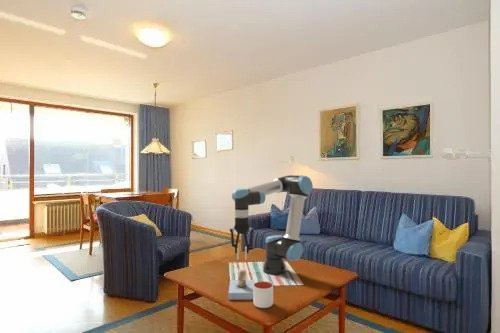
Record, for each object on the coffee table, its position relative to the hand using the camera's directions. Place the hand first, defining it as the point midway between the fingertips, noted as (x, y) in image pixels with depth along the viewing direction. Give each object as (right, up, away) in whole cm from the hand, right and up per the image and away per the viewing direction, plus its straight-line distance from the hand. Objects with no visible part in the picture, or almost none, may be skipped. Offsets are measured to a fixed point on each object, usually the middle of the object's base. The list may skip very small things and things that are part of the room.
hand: (241, 258), depth 172 cm
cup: (+11, -19, -15) cm, 27 cm away
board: (0, -19, 0) cm, 19 cm away
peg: (0, -19, 0) cm, 19 cm away
